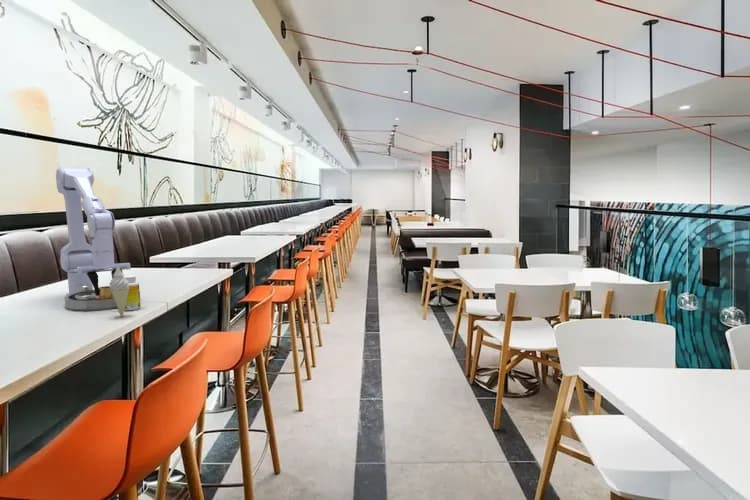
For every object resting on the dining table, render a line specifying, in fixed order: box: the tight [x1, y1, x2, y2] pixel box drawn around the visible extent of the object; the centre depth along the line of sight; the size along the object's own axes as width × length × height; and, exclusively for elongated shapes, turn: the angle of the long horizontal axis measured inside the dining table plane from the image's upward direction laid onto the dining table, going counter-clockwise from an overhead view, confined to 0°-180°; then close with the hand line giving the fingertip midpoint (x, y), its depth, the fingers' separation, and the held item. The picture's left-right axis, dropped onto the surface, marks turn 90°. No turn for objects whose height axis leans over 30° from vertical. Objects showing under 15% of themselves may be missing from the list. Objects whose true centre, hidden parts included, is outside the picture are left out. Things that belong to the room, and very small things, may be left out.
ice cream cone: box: [108, 265, 129, 317], centre depth 142 cm, size 5×5×15 cm
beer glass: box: [124, 274, 141, 312], centre depth 151 cm, size 6×6×10 cm
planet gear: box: [95, 285, 114, 300], centre depth 155 cm, size 6×6×6 cm
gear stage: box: [64, 284, 141, 312], centre depth 159 cm, size 21×21×6 cm
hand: (106, 294), depth 155 cm, fingers closed on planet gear, 4 cm apart
